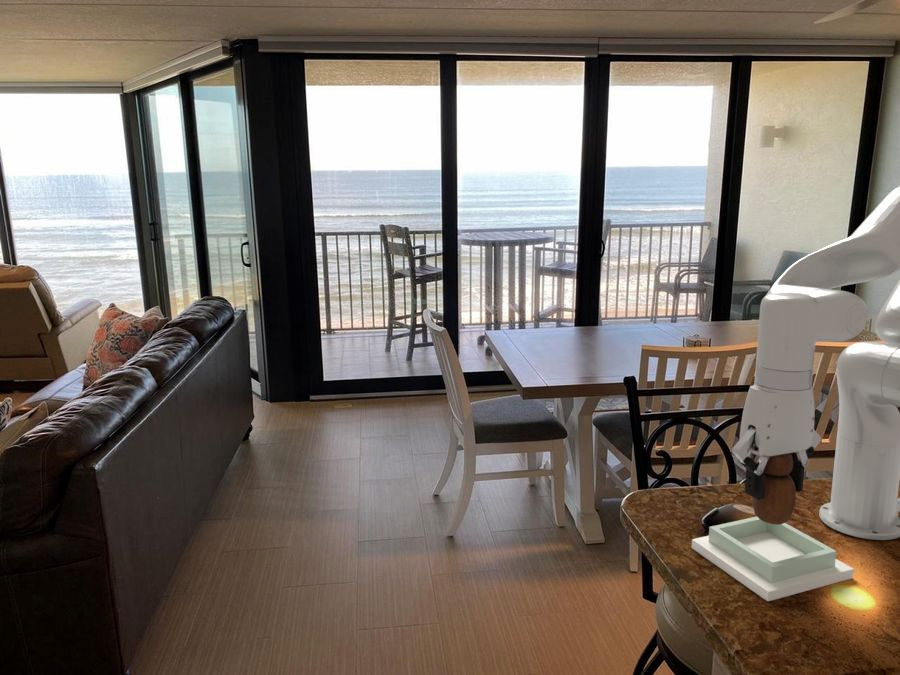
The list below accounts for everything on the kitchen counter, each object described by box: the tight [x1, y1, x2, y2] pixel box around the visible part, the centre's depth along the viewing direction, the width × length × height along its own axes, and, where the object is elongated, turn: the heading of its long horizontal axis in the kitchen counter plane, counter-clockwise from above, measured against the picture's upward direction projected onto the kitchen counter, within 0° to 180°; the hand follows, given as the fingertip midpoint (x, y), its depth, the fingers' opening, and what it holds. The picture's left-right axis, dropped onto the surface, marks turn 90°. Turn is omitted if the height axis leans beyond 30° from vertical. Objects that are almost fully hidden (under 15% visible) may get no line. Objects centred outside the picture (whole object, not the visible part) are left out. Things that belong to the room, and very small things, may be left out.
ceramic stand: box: [691, 516, 855, 602], centre depth 104 cm, size 16×16×4 cm
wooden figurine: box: [751, 453, 797, 525], centre depth 102 cm, size 7×6×15 cm
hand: (773, 491), depth 102 cm, fingers closed on wooden figurine, 6 cm apart
